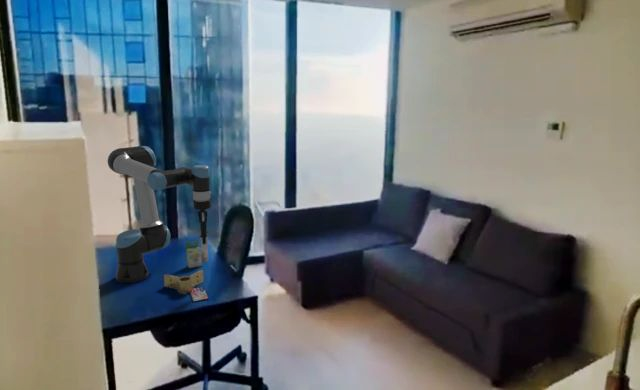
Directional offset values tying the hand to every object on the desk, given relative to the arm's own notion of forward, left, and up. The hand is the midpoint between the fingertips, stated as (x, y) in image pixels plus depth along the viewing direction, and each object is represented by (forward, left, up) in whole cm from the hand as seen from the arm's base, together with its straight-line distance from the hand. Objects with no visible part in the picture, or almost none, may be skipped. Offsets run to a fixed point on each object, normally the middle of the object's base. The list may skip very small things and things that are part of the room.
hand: (204, 248), depth 210 cm
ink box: (-30, +11, -20) cm, 38 cm away
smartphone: (+2, -6, -21) cm, 22 cm away
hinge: (-9, -5, -20) cm, 23 cm away
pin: (0, 0, -6) cm, 6 cm away
